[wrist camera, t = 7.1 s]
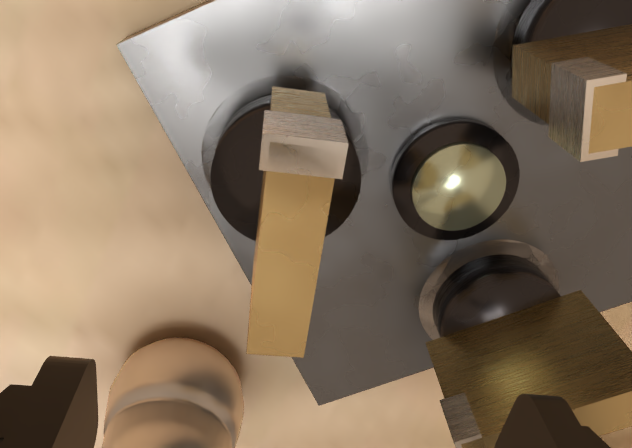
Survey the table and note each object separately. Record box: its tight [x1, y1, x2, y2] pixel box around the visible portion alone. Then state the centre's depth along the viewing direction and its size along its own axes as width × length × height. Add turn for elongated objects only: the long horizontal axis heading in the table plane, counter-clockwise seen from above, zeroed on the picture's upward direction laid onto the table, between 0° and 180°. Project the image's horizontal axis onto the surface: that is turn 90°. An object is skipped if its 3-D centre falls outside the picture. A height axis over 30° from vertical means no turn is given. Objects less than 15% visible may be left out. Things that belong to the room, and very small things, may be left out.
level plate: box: [117, 0, 632, 405], centre depth 24 cm, size 20×20×3 cm
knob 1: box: [210, 86, 361, 358], centre depth 19 cm, size 7×6×8 cm
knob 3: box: [426, 254, 632, 448], centre depth 23 cm, size 7×6×8 cm
